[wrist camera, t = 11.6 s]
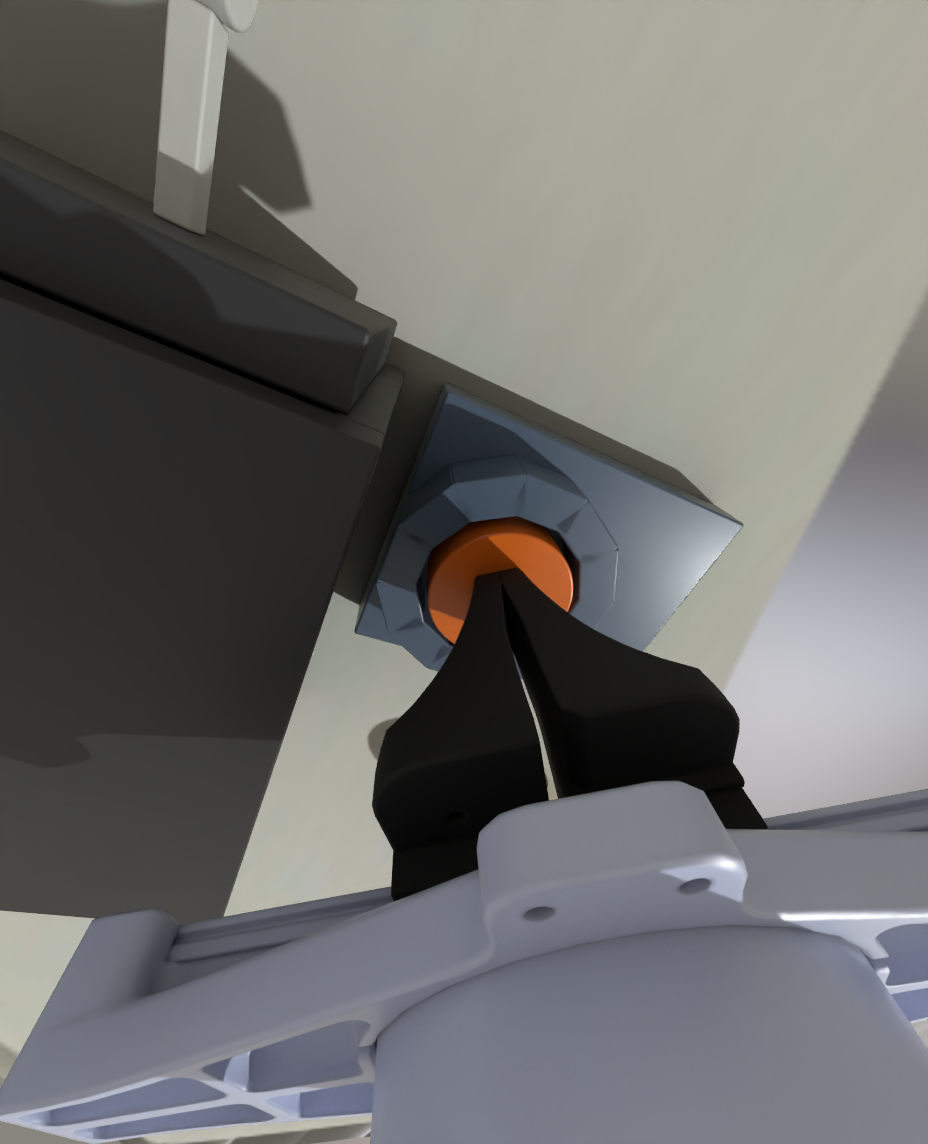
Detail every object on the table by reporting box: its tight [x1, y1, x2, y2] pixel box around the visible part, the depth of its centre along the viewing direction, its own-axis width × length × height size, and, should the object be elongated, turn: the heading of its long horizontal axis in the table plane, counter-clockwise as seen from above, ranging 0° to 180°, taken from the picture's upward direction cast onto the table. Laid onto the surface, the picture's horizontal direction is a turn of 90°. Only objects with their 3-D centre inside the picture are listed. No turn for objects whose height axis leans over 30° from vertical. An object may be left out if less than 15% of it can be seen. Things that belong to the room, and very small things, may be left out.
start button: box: [427, 516, 574, 644], centre depth 14 cm, size 4×4×2 cm
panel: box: [355, 383, 743, 679], centre depth 15 cm, size 11×9×4 cm
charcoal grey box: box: [0, 279, 405, 925], centre depth 11 cm, size 15×13×9 cm
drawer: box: [0, 0, 397, 414], centre depth 9 cm, size 18×11×7 cm, turn 156°
